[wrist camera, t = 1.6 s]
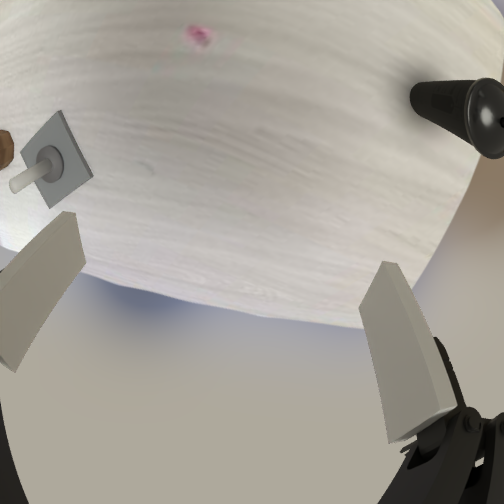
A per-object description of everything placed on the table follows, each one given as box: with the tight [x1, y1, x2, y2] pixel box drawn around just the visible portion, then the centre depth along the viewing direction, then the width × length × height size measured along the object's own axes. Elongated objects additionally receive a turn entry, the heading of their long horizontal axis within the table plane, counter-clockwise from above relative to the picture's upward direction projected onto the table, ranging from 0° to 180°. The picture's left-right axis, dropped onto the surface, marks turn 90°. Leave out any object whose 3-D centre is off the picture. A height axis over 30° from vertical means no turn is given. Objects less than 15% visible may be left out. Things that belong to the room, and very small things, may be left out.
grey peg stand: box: [9, 110, 93, 209], centre depth 28 cm, size 12×12×10 cm
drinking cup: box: [410, 78, 504, 159], centre depth 17 cm, size 8×8×20 cm
